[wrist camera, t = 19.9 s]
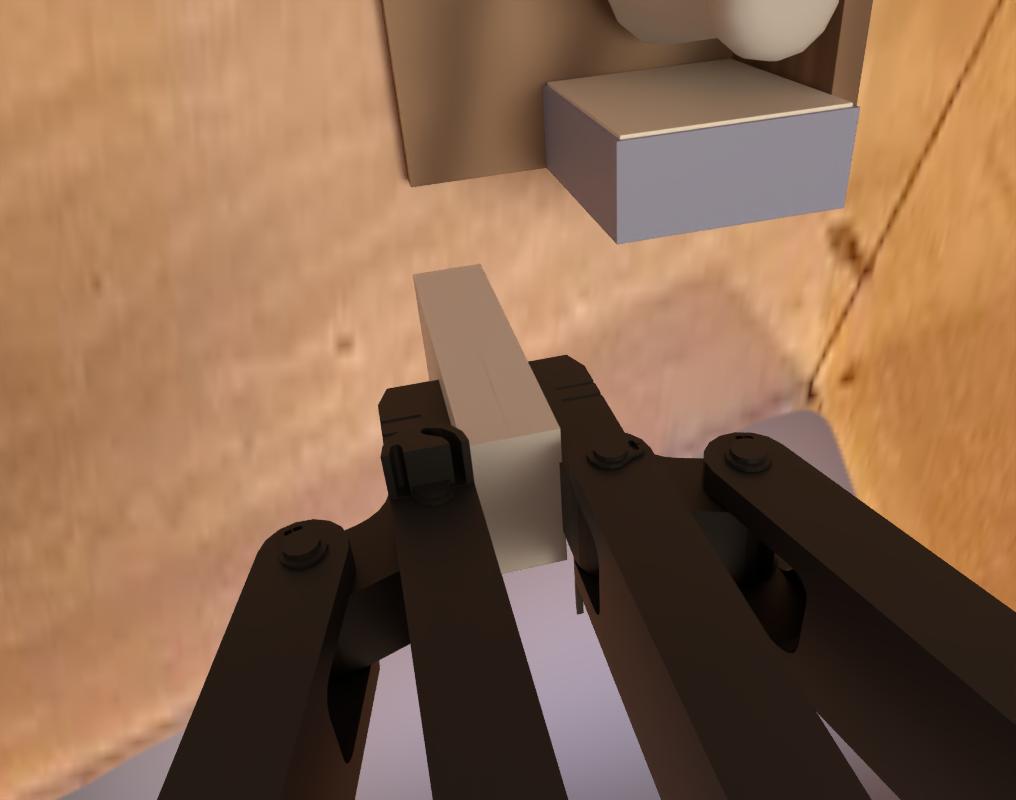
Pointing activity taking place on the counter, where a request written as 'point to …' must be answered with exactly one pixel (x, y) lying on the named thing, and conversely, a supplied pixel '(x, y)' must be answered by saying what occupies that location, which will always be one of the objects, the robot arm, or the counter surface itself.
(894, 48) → the counter surface
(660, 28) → the salt shaker
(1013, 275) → the counter surface
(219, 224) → the counter surface
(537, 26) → the wooden l-bracket
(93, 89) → the counter surface
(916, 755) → the robot arm
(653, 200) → the book block
